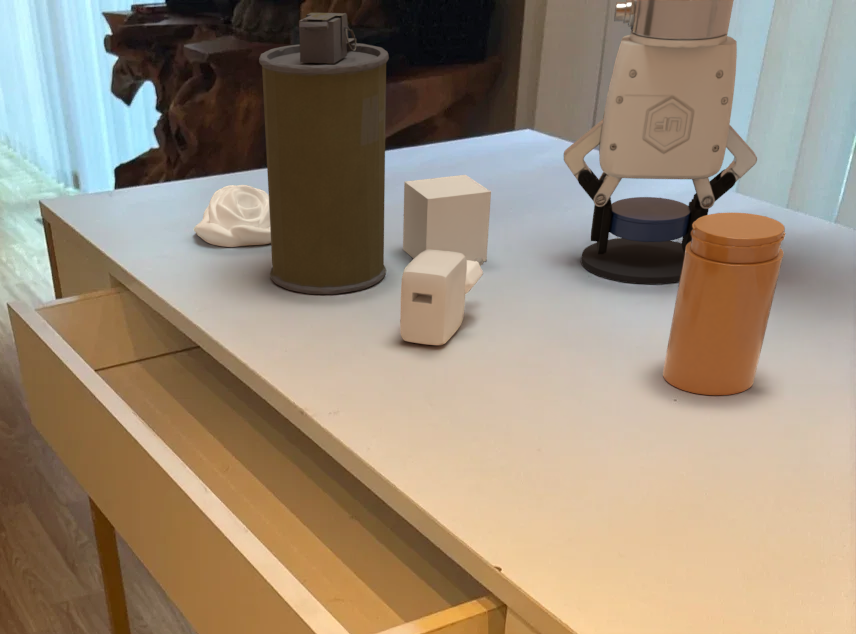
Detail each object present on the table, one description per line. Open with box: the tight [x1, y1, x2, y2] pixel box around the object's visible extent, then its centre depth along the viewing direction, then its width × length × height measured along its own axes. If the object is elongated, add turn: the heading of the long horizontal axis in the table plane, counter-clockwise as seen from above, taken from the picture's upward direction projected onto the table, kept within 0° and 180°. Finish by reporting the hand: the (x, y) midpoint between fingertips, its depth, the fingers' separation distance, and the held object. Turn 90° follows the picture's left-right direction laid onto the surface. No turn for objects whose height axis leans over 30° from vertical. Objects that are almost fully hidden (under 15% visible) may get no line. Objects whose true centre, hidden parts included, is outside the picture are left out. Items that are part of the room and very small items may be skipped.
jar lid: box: [609, 196, 691, 242], centre depth 99 cm, size 7×7×2 cm
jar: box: [662, 212, 787, 396], centre depth 78 cm, size 6×6×11 cm
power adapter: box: [399, 250, 484, 346], centre depth 89 cm, size 11×5×6 cm, turn 157°
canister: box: [258, 12, 390, 295], centre depth 95 cm, size 11×10×20 cm
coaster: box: [580, 237, 684, 285], centre depth 101 cm, size 11×11×1 cm
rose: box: [193, 184, 271, 248], centre depth 109 cm, size 10×4×10 cm
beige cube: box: [402, 174, 492, 262], centre depth 102 cm, size 6×6×6 cm
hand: (644, 248), depth 100 cm, fingers closed on jar lid, 6 cm apart
